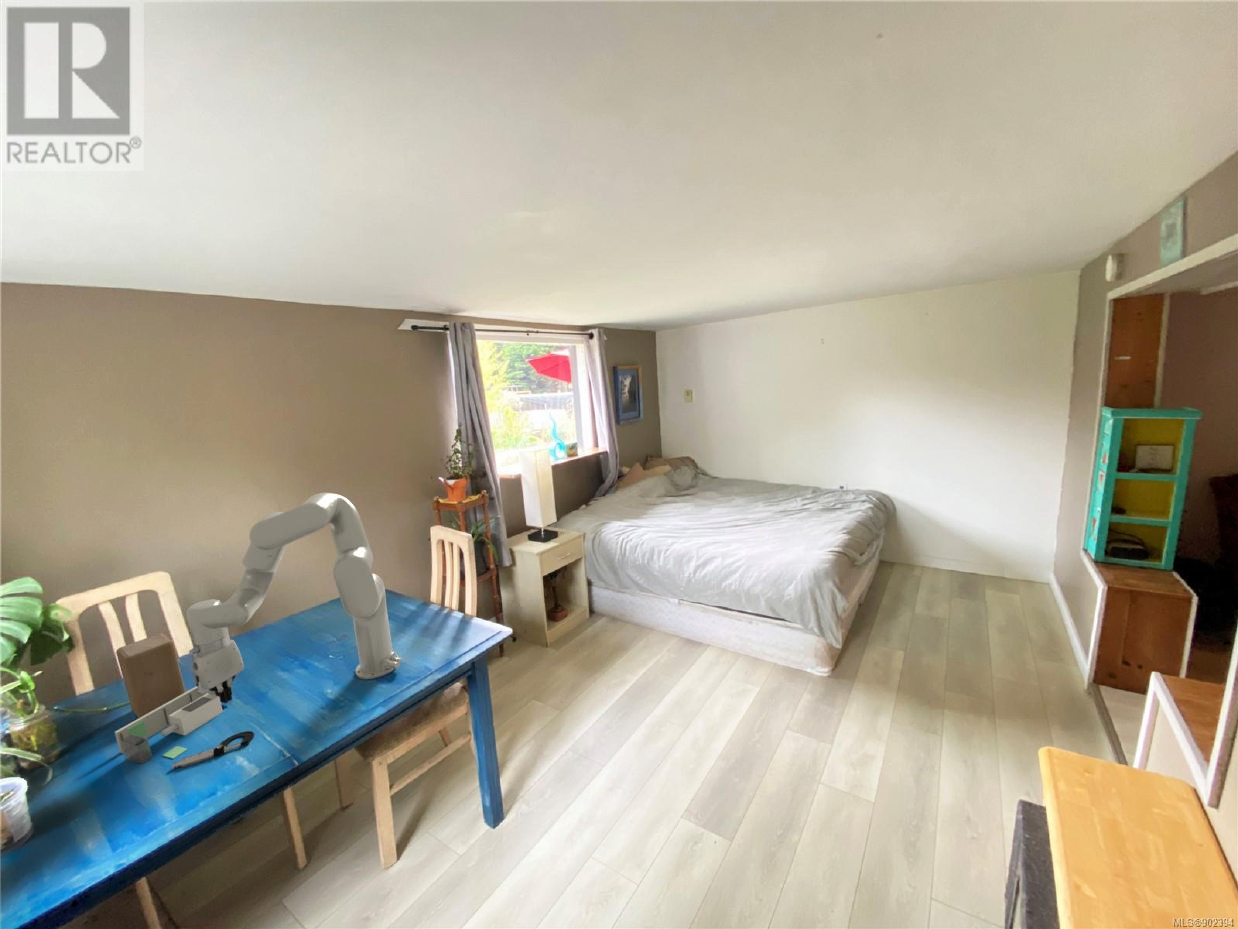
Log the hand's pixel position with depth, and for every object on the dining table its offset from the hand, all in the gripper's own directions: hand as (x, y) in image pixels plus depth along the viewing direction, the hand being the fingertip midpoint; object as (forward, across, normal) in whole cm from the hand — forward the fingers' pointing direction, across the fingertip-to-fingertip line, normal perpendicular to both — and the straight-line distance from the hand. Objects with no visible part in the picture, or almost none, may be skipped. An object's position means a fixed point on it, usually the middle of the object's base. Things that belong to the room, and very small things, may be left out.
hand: (225, 700), depth 131 cm
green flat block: (+1, -16, -7) cm, 18 cm away
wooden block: (+1, -5, +19) cm, 20 cm away
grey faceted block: (+1, -20, 0) cm, 20 cm away
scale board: (+1, -7, +7) cm, 10 cm away
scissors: (+2, -12, -16) cm, 21 cm away
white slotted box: (+1, -8, 0) cm, 9 cm away
